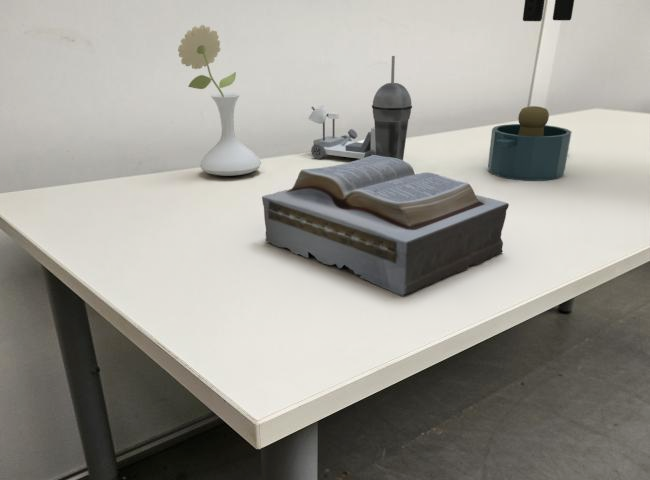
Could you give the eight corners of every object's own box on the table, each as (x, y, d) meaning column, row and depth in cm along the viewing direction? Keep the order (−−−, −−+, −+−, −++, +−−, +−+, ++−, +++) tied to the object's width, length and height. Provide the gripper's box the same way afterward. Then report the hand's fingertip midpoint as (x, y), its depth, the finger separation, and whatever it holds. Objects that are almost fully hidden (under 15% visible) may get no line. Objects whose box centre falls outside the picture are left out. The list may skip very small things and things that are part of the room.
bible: (388, 207, 94) (391, 142, 89) (526, 261, 73) (539, 179, 69) (251, 235, 83) (247, 161, 78) (370, 307, 62) (372, 213, 58)
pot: (584, 169, 116) (591, 128, 112) (531, 187, 104) (538, 142, 101) (520, 158, 124) (525, 120, 121) (465, 173, 113) (469, 132, 109)
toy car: (299, 107, 122) (330, 100, 131) (300, 156, 127) (330, 147, 135) (378, 113, 114) (406, 106, 122) (377, 167, 118) (403, 156, 127)
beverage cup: (410, 167, 117) (416, 54, 108) (406, 176, 111) (413, 57, 102) (372, 166, 119) (376, 54, 110) (367, 174, 112) (370, 56, 103)
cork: (541, 166, 116) (551, 105, 111) (544, 173, 111) (554, 109, 106) (508, 164, 117) (516, 104, 112) (509, 171, 112) (518, 108, 107)
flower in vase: (254, 164, 121) (246, 23, 109) (267, 177, 111) (260, 24, 100) (188, 169, 117) (172, 24, 106) (195, 183, 108) (178, 25, 96)
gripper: (559, -113, 87) (541, 21, 95) (613, -100, 98) (592, 20, 105) (513, -106, 92) (499, 21, 100) (569, -94, 102) (552, 19, 110)
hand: (547, 20), depth 103 cm, fingers open, 9 cm apart
